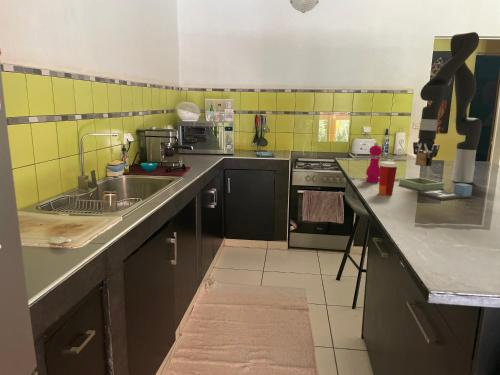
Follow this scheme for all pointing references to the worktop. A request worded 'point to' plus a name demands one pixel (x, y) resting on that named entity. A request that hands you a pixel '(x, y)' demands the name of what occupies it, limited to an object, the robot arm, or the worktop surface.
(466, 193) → the slate cube
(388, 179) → the paper cup
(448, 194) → the letter mat
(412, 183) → the tray
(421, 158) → the walnut block
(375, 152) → the pepper mill
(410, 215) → the worktop surface
